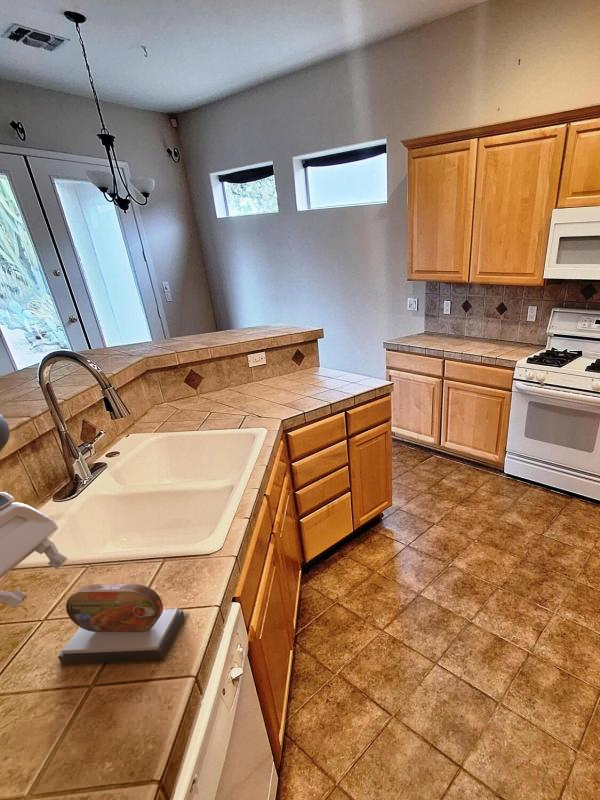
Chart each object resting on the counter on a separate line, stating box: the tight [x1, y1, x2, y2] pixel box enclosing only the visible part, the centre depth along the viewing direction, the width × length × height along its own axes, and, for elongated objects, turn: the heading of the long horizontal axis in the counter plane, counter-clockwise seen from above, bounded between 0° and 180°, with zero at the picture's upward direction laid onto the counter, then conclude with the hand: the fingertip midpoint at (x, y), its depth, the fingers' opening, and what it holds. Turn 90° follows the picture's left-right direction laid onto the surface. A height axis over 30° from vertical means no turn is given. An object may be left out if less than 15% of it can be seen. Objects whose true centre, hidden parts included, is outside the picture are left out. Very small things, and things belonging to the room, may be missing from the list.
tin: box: [65, 583, 164, 632], centre depth 73 cm, size 15×3×8 cm, turn 90°
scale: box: [57, 608, 186, 666], centre depth 75 cm, size 16×10×3 cm, turn 94°
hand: (44, 581), depth 68 cm, fingers open, 8 cm apart
